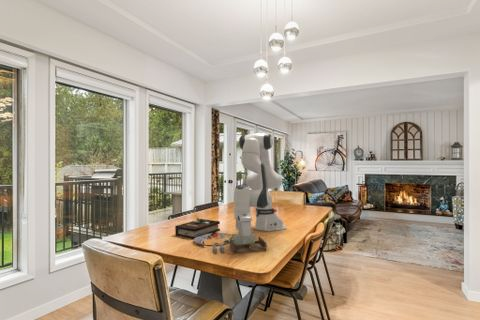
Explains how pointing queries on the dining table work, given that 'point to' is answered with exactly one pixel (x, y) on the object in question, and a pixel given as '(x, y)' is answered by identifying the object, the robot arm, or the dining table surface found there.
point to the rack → (246, 248)
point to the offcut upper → (255, 245)
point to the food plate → (214, 237)
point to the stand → (216, 248)
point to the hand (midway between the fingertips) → (242, 240)
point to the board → (239, 239)
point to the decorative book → (196, 228)
